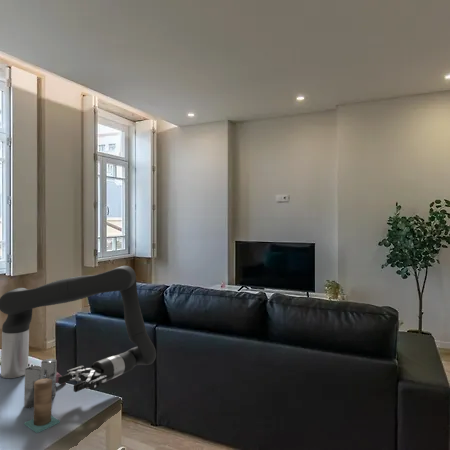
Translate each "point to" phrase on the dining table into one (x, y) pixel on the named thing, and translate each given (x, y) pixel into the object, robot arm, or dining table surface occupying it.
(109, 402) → the dining table surface
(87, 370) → the robot arm
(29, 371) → the silver tall tapered cylinder
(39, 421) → the cylinder
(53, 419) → the teal mat
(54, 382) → the shiny grey metal cylinder
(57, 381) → the video game controller
